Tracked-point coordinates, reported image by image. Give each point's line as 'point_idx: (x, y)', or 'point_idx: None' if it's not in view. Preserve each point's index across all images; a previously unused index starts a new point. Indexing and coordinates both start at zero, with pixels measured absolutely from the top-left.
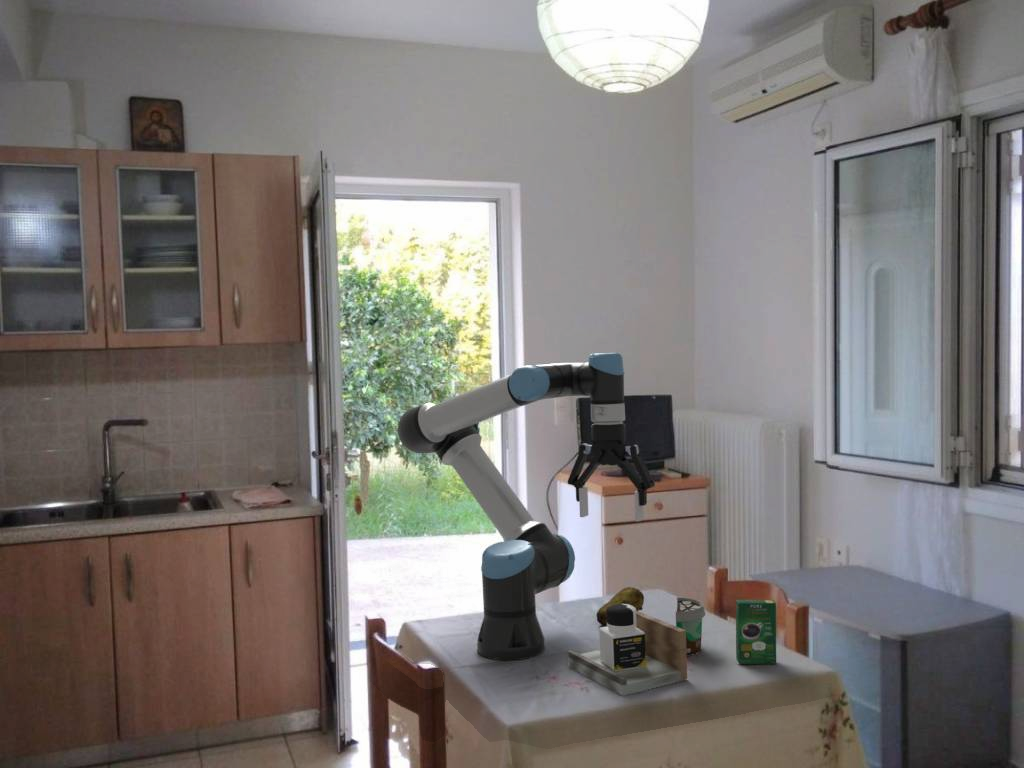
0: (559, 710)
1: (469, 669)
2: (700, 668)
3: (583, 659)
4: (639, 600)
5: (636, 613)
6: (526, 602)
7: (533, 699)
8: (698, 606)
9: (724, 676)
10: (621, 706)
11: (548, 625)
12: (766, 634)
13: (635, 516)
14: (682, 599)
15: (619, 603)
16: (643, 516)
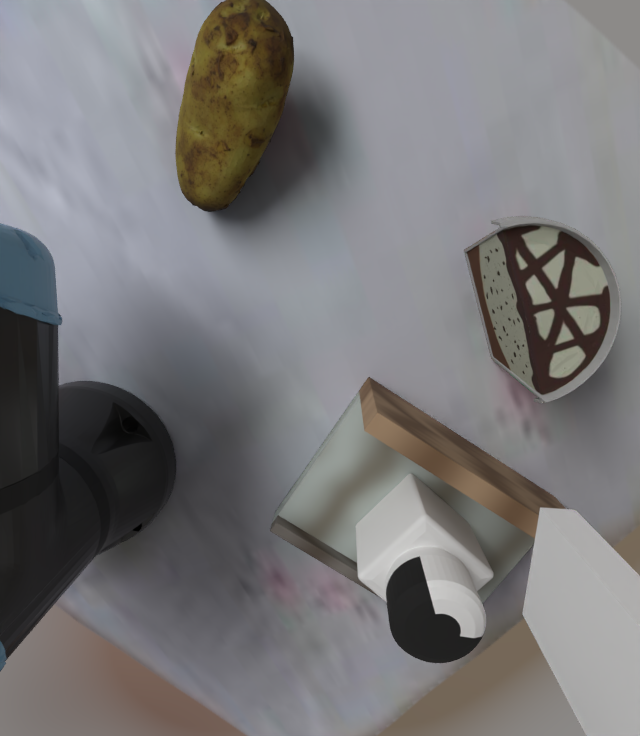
0: (365, 708)
1: (95, 596)
2: (566, 417)
3: (329, 566)
4: (289, 77)
5: (428, 466)
6: (85, 557)
7: (298, 682)
8: (591, 266)
9: (632, 446)
10: (465, 660)
11: (67, 246)
12: None
13: (544, 649)
14: (523, 224)
15: (240, 151)
16: (590, 530)
